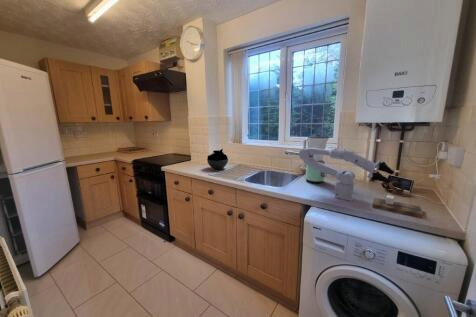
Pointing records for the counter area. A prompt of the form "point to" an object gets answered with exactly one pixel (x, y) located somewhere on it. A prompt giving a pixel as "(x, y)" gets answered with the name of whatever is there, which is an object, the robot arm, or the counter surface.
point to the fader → (389, 199)
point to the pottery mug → (391, 186)
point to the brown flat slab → (398, 208)
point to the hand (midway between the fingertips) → (391, 177)
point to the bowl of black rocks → (217, 159)
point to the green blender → (315, 158)
